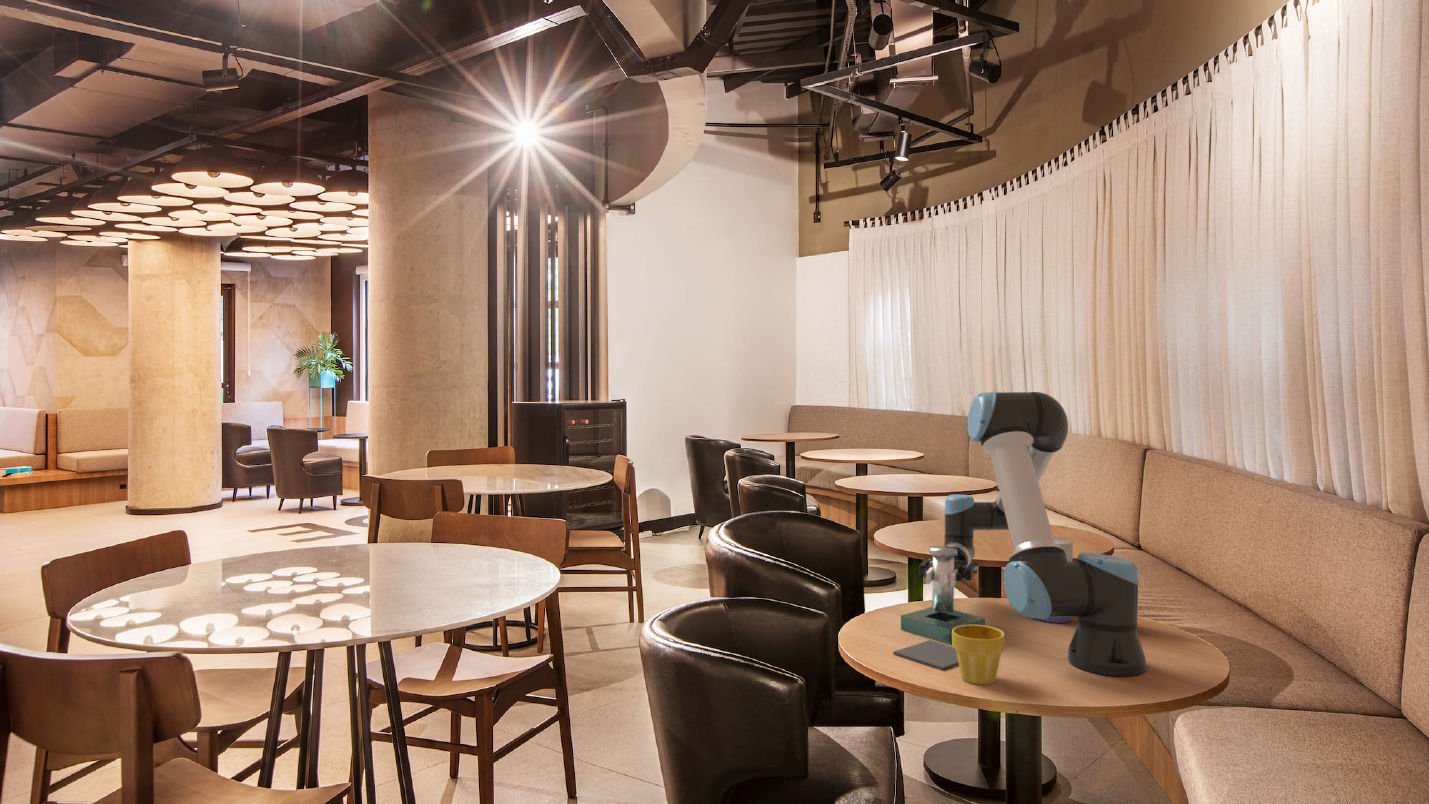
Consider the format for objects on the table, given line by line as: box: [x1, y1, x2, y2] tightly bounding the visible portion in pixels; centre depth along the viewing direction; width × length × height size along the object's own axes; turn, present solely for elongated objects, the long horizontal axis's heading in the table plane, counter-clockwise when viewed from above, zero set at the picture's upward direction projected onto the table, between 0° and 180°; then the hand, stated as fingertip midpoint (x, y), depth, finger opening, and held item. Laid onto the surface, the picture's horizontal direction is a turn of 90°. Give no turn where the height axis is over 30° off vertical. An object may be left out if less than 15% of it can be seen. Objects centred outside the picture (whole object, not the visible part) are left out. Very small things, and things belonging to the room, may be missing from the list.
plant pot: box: [951, 625, 1006, 685], centre depth 173 cm, size 10×10×10 cm
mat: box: [892, 639, 959, 671], centre depth 187 cm, size 13×13×1 cm
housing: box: [900, 606, 986, 645], centre depth 205 cm, size 14×14×4 cm
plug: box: [929, 545, 957, 613], centre depth 205 cm, size 6×6×15 cm
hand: (939, 579), depth 200 cm, fingers closed on plug, 5 cm apart
